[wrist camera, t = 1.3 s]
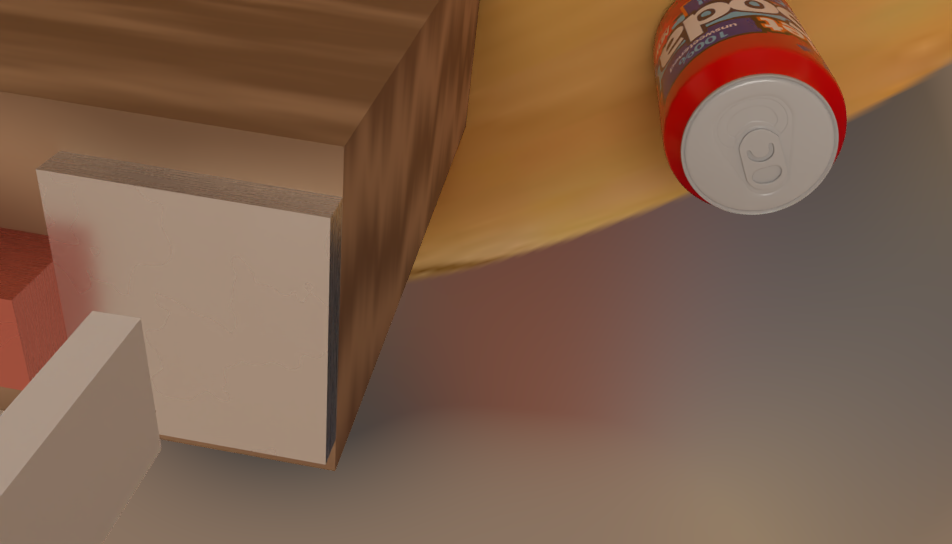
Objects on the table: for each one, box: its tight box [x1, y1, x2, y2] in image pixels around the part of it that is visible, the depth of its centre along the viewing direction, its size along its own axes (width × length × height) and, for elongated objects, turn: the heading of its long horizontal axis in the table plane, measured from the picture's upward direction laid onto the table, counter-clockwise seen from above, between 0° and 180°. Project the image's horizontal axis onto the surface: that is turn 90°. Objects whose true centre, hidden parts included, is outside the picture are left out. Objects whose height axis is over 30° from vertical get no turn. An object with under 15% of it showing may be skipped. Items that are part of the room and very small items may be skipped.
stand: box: [0, 0, 479, 471], centre depth 39 cm, size 12×16×30 cm
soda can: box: [654, 0, 847, 215], centre depth 43 cm, size 8×8×15 cm
